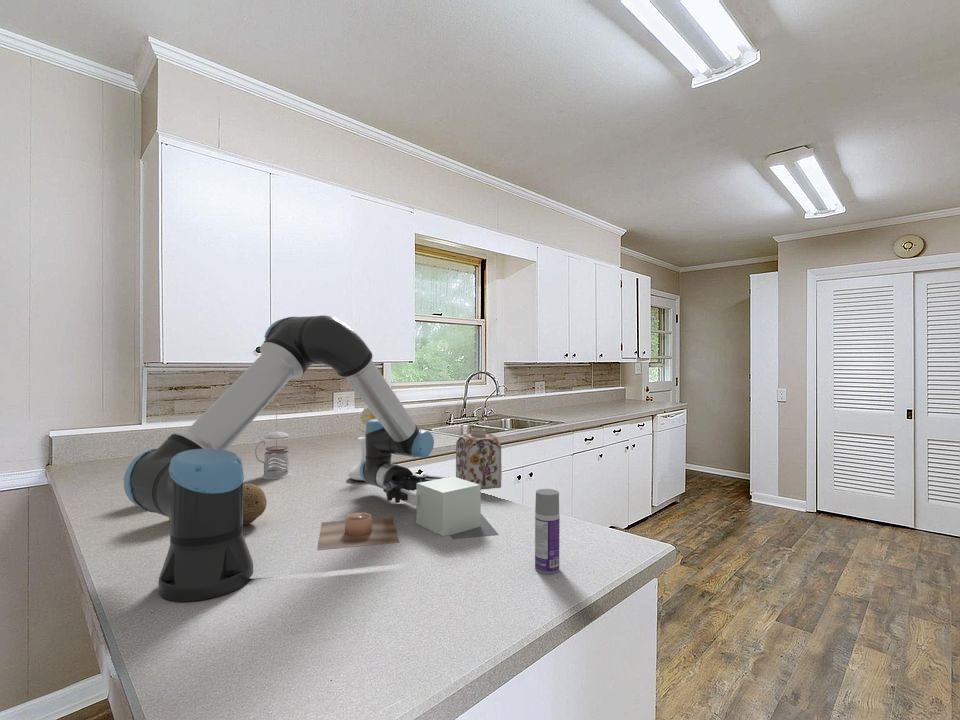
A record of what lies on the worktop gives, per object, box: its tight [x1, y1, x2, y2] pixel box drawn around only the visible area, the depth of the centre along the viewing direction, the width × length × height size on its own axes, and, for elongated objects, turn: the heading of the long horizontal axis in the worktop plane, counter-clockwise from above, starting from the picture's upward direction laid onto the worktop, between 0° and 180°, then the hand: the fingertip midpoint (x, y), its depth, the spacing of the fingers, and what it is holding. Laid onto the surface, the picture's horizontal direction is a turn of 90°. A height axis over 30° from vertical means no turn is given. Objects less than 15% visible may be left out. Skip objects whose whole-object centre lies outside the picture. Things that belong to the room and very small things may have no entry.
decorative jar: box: [455, 427, 503, 490], centre depth 161 cm, size 12×12×18 cm
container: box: [534, 488, 561, 575], centre depth 98 cm, size 5×5×15 cm
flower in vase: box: [347, 406, 377, 481], centre depth 169 cm, size 13×11×25 cm
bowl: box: [344, 512, 373, 536], centre depth 116 cm, size 6×6×4 cm
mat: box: [449, 513, 500, 540], centre depth 121 cm, size 18×20×1 cm
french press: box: [254, 403, 292, 480], centre depth 173 cm, size 10×12×25 cm
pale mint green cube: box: [415, 476, 482, 537], centre depth 121 cm, size 11×11×10 cm
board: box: [316, 516, 401, 551], centre depth 116 cm, size 18×17×1 cm
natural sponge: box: [243, 483, 268, 526], centre depth 123 cm, size 9×9×10 cm
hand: (439, 495), depth 125 cm, fingers open, 13 cm apart
